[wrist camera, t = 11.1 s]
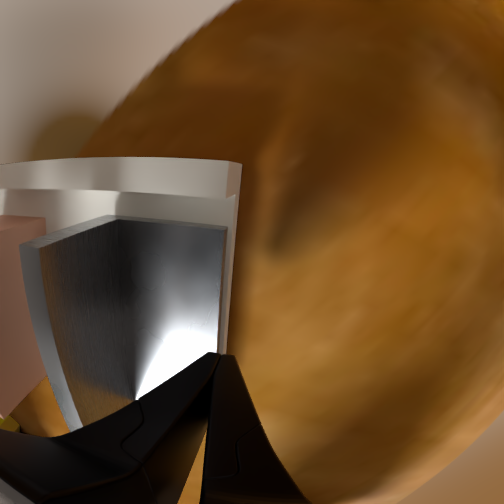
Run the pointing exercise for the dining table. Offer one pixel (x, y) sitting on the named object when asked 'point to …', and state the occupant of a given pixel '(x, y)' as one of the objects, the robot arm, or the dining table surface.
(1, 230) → the book block
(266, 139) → the dining table surface
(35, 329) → the bookend
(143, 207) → the shelf
